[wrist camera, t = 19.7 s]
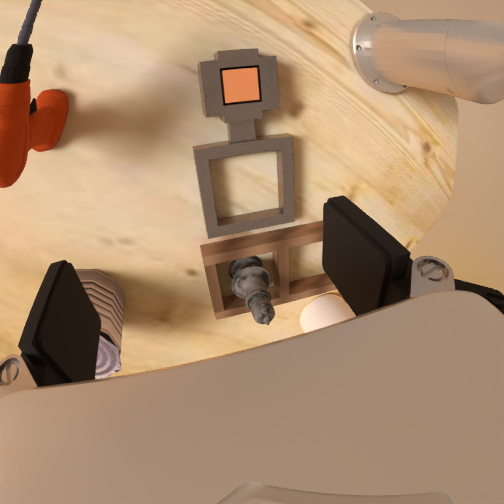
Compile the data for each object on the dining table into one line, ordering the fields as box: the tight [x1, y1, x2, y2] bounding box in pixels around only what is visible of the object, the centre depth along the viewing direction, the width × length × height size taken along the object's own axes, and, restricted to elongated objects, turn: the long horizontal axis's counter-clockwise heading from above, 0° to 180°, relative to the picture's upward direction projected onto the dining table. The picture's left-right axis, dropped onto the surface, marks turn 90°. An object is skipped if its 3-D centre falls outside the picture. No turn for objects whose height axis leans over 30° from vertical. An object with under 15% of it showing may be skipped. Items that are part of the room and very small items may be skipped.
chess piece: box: [229, 256, 275, 325], centre depth 42 cm, size 6×6×12 cm
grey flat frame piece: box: [193, 49, 294, 239], centre depth 35 cm, size 12×23×3 cm, turn 4°
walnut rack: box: [200, 221, 337, 320], centre depth 46 cm, size 22×12×3 cm, turn 94°
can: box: [75, 269, 125, 379], centre depth 37 cm, size 11×11×12 cm
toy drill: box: [0, 0, 68, 188], centre depth 19 cm, size 5×19×15 cm, turn 156°
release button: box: [220, 68, 260, 103], centre depth 30 cm, size 4×4×3 cm
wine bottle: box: [300, 294, 355, 333], centre depth 44 cm, size 10×10×30 cm
